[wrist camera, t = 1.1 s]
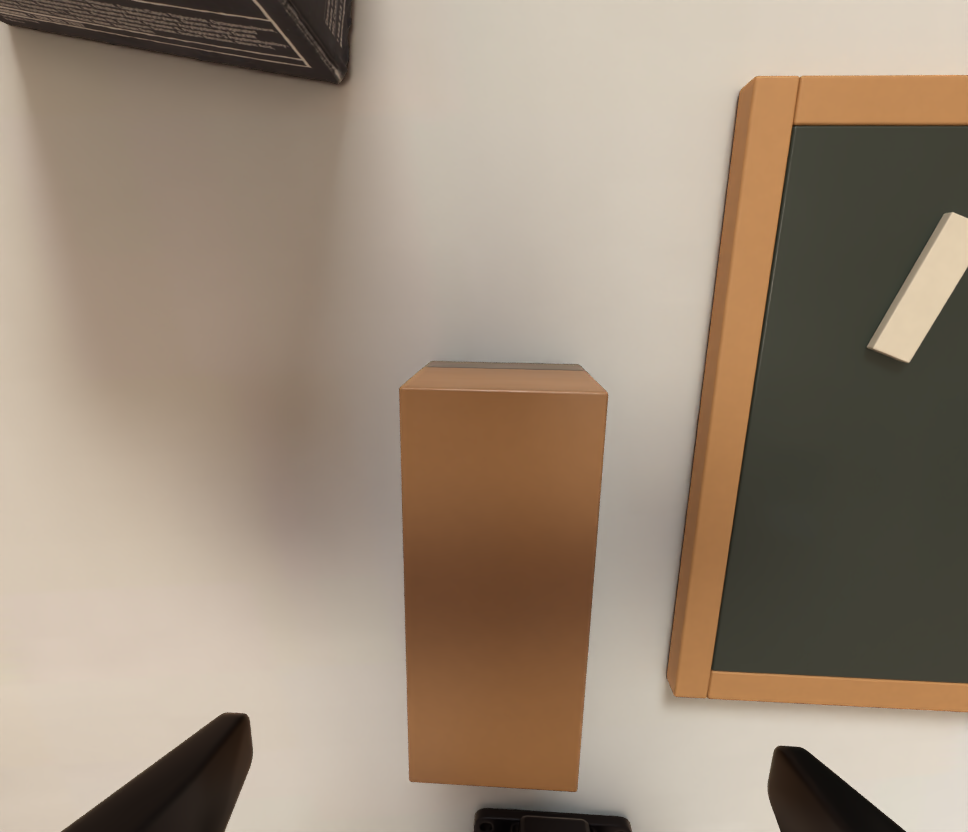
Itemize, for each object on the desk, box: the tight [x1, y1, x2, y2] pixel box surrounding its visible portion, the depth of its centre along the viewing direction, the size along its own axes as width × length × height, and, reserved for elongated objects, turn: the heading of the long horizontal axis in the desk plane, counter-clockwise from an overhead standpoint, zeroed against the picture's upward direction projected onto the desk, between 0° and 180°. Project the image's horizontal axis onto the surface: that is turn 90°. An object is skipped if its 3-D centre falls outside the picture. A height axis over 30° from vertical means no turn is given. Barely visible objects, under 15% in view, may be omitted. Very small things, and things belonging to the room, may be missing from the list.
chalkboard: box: [667, 75, 968, 712], centre depth 16 cm, size 20×16×1 cm
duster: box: [399, 361, 608, 792], centre depth 15 cm, size 12×5×5 cm, turn 179°
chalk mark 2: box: [867, 212, 968, 363], centre depth 14 cm, size 4×1×1 cm, turn 159°
